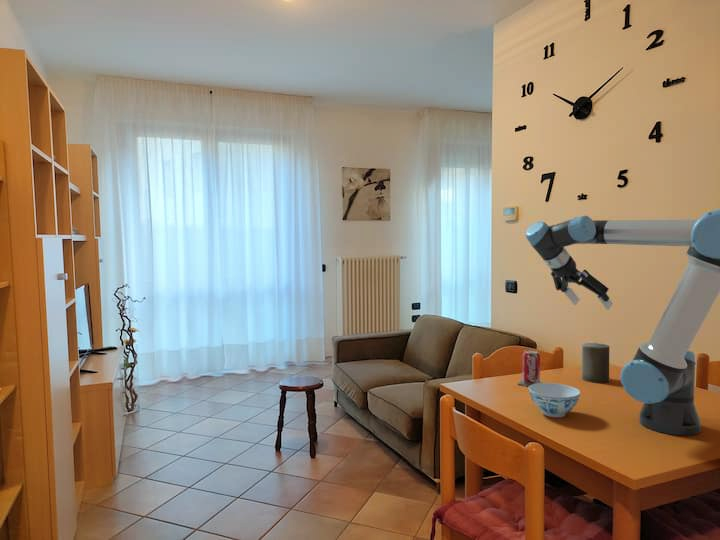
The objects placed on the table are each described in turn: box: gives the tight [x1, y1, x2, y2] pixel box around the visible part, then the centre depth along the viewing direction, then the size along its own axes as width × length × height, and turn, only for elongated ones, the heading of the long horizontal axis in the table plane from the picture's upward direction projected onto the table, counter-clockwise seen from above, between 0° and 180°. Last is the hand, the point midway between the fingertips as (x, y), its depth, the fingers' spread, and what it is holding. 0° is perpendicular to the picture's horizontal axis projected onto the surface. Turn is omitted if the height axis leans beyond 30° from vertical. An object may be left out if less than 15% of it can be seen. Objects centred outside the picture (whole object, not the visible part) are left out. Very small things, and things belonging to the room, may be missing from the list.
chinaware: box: [528, 382, 581, 418], centre depth 152 cm, size 15×15×8 cm
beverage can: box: [521, 349, 541, 384], centre depth 183 cm, size 6×6×12 cm
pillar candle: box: [581, 342, 610, 384], centre depth 189 cm, size 10×10×15 cm
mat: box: [517, 379, 544, 387], centre depth 183 cm, size 7×8×1 cm
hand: (592, 304), depth 165 cm, fingers open, 13 cm apart
